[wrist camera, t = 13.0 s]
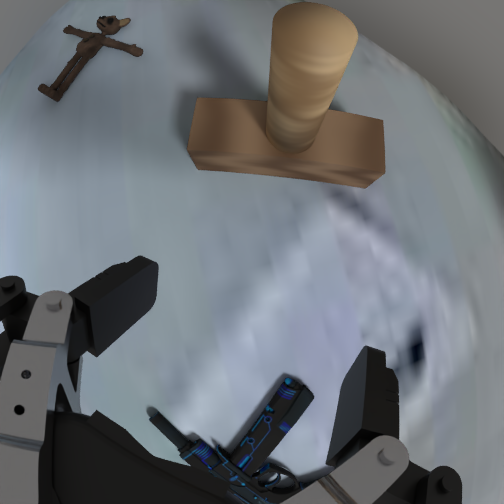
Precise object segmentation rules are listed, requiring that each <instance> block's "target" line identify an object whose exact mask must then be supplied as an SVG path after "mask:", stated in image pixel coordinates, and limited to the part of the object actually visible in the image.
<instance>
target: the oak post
mask: <svg viewBox="0 0 504 504" xmlns="http://www.w3.org/2000/svg"><path fill="white" fill-rule="evenodd" d="M357 41H358V33H357V30H356V27H355V26H354V24H353V23H352V22H351V20H349V18H347V17H346V16H345V15H344V14H342V13H341V12H339V11H337V10H335V9H333V8H331V7H329V6H326V5H322V4H318V3H311V2H299V3H293V4H290V5H287V6H285V7H283V8H281V9H280V10H278V11H277V13H276V14H275V15H274V18H273V25H272V41H271V57H270V73H269V88H268V104H267V119H266V135H267V138H268V140H269V142H270V143H271V144H272V145H273V146H274V147H275V148H276V149H278V150H280V151H282V152H285V153H289V154H296V153H301V152H303V151H306V150H307V149H308V148H310V147H311V146H312V144H313V143H314V140H315V138H316V136H317V134H318V131H319V129H320V127H321V124H322V122H323V120H324V118H325V115H326V113H327V111H328V108H329V106H330V104H331V101H332V99H333V97H334V95H335V92H336V90H337V88H338V85H339V83H340V81H341V78H342V76H343V74H344V71H345V69H346V67H347V64H348V62H349V60H350V57H351V55H352V53H353V50H354V48H355V46H356V43H357Z"/></svg>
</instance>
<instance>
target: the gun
mask: <svg viewBox="0 0 504 504" xmlns="http://www.w3.org/2000/svg"><path fill="white" fill-rule="evenodd" d="M285 383H286V385H287V386H286V385H285ZM303 386H304V388H303V387H302V386H301V385H300V384H299V383H298V382H296V381H295V380H292V379H290V378H286V379H285V382H283V384H282V385H281V387H280V388H279V390H278V391H277V392H276V394H275V395H274V397H273V398H272V400H271V401H270V402H269V404H268V405H267V407H266V408H265V410H264V411H263V412H262V414H261V415H260V417H259V418H258V419H257V421H256V422H255V424H254V425H253V426H252V428H251V429H250V430H249V432H248V433H247V434H246V436H245V437H244V438H243V440H242V441H241V442H240V444H239V445H238V446H237V448H236V449H235V450H234V451H233V453H232V454H231V455H230V454H229V453H228V452H226V451H225V450H224V449H222V448H221V447H219V446H220V445H217V447H216V449H217V453H216V452H215V451H213V450H212V449H211V448H210V447H209V446H208V445H207V444H205V443H204V442H203V441H202V440H201V439H199V440H196V441H195V442H194V443H192V442H191V441H190V440H189V441H188V440H187V439H186V438H185V437H184V436H182V435H181V434H180V433H179V432H178V431H177V430H176V429H175V428H174V427H173V426H172V425H171V424H170V423H169V422H168V421H167V420H166V419H165V418H164V417H163V416H162V415H161V414H160V413H159V412H157V413H156V414H155V415H154V416H153V417H151V418H150V419H149V420H150V421H151V422H152V423H153V424H154V425H155V426H156V427H157V428H158V429H159V430H160V431H161V432H162V433H163V434H164V435H165V436H166V437H167V438H168V439H169V440H170V441H171V442H172V443H173V444H174V445H175V446H177V447H178V448H179V449H178V451H179V452H180V455H179V456H180V457H181V458H182V459H184V460H185V461H186V462H187V463H188V464H190V465H191V466H192V467H195V468H197V469H200V470H202V471H204V472H206V473H208V474H211V475H213V476H215V477H218V478H220V479H222V480H225V481H227V482H230V483H231V485H230V487H229V489H228V491H229V492H231V493H232V494H233V495H235V496H236V497H237V498H238V499H239V500H241V501H242V502H243V503H244V504H280V503H282V502H284V501H286V500H287V499H289V498H291V497H292V496H294V495H296V494H297V493H299V492H300V491H302V490H304V489H305V488H307V487H308V486H310V485H311V484H313V483H314V482H316V481H317V480H316V481H313V482H309V483H306V484H303V483H301V482H299V483H298V481H297V479H296V478H295V476H294V475H293V474H292V473H290V472H289V471H287V470H286V469H284V468H282V467H279V466H277V465H274V464H272V463H268V464H267V465H265V466H264V467H263V468H261V469H260V470H259V471H258V472H256V473H254V472H255V471H256V470H257V469H258V468H259V467H260V465H261V464H262V463H263V462H264V461H265V460H266V458H267V457H268V456H269V455H270V454H271V452H272V451H273V450H274V449H275V447H276V446H277V445H278V444H279V443H280V441H281V440H282V439H283V438H284V436H285V435H286V434H287V433H288V431H289V430H290V429H291V428H292V427H293V426H294V424H295V423H296V422H297V421H298V419H299V418H300V417H301V415H302V414H303V413H304V411H305V410H306V409H307V407H308V406H309V405H310V403H311V402H312V401H313V399H314V395H313V393H312V392H311V391H310V390H309V389H308V388H307V387H306V386H305V385H303ZM268 410H269V412H268ZM268 472H275V473H277V474H278V476H277V478H276V479H274V480H273V481H271V482H267V483H261V482H260V481H258V478H259V477H261V476H263V475H264V474H266V473H268ZM280 474H284V475H287V476H289V477H290V478H292V479H293V480H294V481H295V484H294V485H293V486H291V487H289V488H284V489H278V488H274V486H275V485H276V484H278V483H279V481H280V479H281V476H280Z"/></svg>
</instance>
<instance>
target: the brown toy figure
mask: <svg viewBox="0 0 504 504" xmlns="http://www.w3.org/2000/svg"><path fill="white" fill-rule="evenodd" d="M130 21H131V19H130V18H125V19H121V20H118V19H117V18H116V16H108V17H106V16H102V17H99V19H98V20H97V27H98V28H99V29H100V30H101V31H102V33H101V34H100V33H92V32H86V31H82V30H80V29H75V28H74V27H72V26H71V25H68V27H66V28H64V30H63V32H64V33H66V34H73V35H76V36H79V37H81V38H83V40H82V41H81V42H79V43H78V45H77V48H76V51H77V53H76V54H75V55H74V56H73V58H72V59H71V60H70V61H69V62H68V64H67V65H66V67H65V68H64V69H63V71H62V72H61V73H60V75H59V76H58V77H57V79H56V80H55V82H54V83H53V84H52V85H51V86H50V87H48V86H47V85H45V84H41V85H40V86H39V87H38V90H39V91H40V92H41V93H43V94H45V95H46V96H48V97H50V98H51V99H53V100H55V101H57V102H58V101H59V100H60V99H61V97H62V96H63V94H64V92H65V91H66V90H67V89H68V87H69V85H70V84H71V83H72V82H73V80H74V78H75V77H76V76H77V74H78V73H79V72H80V70H81V69H82V68H83V67H84V65H85V64H86V63H87V61H88V60H89V59H91V58H93V57H94V56H95V55H96V53H97V52H98V51H99V49H100V48H101V47H102V46H103V45H104V46H107V47H112V48H115V49H119V50H123V51H126V52H128V53H130V54H132V55H133V56H136V57H139V56H141V55H142V54H143V49H141V48H138V47H136V44H133V45H128V44H125V43H122V42H119V41H115V40H114V39H111V38H109V37H108V38H106V37H105V35H113V34H116V33H117V32H118V31H119V30H120V28H121V27H124V26H126V25H127V24H128V23H129V22H130ZM81 57H82V58H81ZM80 58H81V60H80V61H79V62H78V60H79V59H80ZM77 62H78V64H77V65H76V66H75V67H74V65H75V64H76V63H77ZM73 67H74V69H73V70H72V71H71V69H72V68H73ZM70 71H71V73H70V74H69V72H70ZM68 74H69V75H68ZM67 75H68V77H67V78H66V76H67ZM65 78H66V80H65V81H64V82H63V80H64V79H65ZM62 82H63V83H62ZM61 83H62V84H61ZM58 88H59V89H58ZM57 89H58V90H57Z"/></svg>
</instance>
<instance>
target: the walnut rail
mask: <svg viewBox="0 0 504 504" xmlns="http://www.w3.org/2000/svg"><path fill="white" fill-rule="evenodd" d="M267 104H268V101H258V100H244V99H227V98H197V101H196V105H195V110H194V115H193V120H192V125H191V130H190V135H189V140H188V146H187V151H188V153H189V155H190V156H191V158H192V160H193V162H194V164H195V165H196V167H197V169H198V170H210V171H224V172H236V173H248V174H259V175H269V176H278V177H287V178H295V179H304V180H312V181H319V182H326V183H333V184H340V185H347V186H353V187H360V188H367V187H368V186H369V185H370V184H372V183H373V182H374V181H376V180H377V179H378V178H379V177H381V176H382V175H383V174H385V145H384V127H383V120H380V119H375V118H371V117H366V116H362V115H357V114H352V113H347V112H341V111H336V110H330V109H328V111H327V113H326V115H325V118H324V120H323V122H322V124H321V127H320V129H319V131H318V134H317V136H316V138H315V140H314V143H313V144H312V146H311V147H310V148H308V149H307V150H306V151H303V152H301V153H296V154H289V153H285V152H282V151H280V150H278V149H276V148H275V147H274V146H273V145H272V144H271V143H270V142H269V140H268V138H267V135H266V119H267Z"/></svg>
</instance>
